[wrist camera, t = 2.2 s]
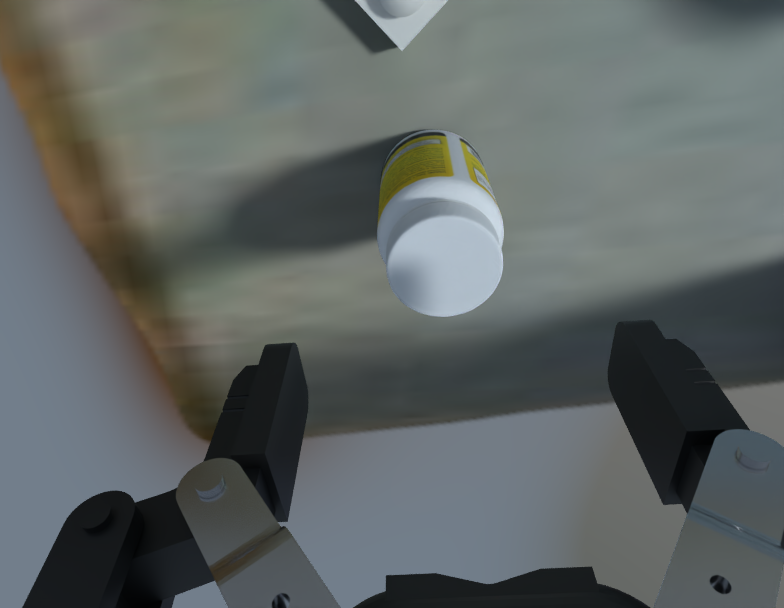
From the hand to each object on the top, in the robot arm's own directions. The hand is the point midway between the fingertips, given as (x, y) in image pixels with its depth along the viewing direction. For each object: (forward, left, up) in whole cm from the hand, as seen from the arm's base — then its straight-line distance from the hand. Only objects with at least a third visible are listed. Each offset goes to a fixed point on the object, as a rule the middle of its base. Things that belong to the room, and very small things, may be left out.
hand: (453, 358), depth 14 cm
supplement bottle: (0, 0, -14) cm, 14 cm away
